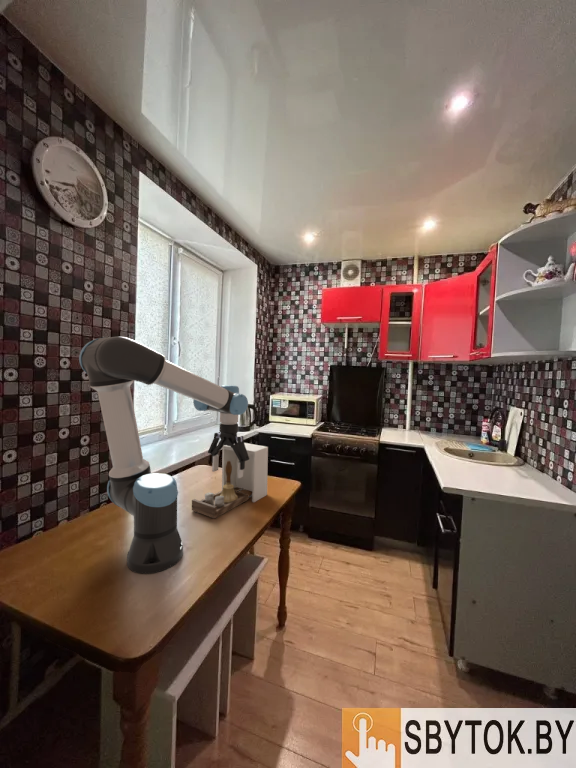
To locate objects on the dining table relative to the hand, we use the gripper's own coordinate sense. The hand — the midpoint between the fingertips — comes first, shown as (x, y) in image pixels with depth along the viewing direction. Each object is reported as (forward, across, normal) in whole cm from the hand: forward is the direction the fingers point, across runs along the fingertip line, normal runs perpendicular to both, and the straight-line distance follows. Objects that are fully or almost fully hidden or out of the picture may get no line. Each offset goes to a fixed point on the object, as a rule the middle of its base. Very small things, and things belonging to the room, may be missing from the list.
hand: (227, 474), depth 129 cm
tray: (+12, 0, +3) cm, 13 cm away
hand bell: (+11, 0, -1) cm, 11 cm away
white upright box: (+12, 0, -2) cm, 12 cm away
